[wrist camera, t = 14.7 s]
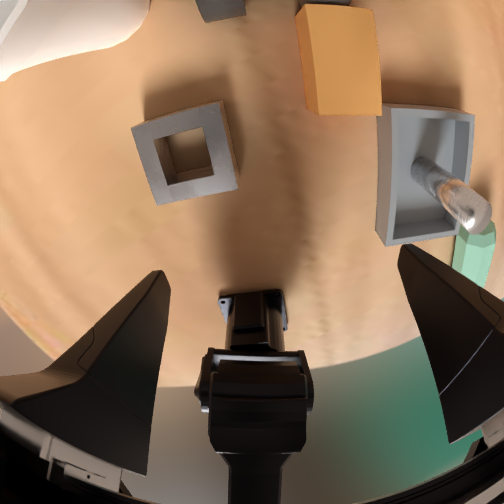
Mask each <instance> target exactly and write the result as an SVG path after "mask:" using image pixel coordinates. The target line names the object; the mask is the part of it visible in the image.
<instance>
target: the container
mask: <svg viewBox="0 0 504 504" xmlns="http://www.w3.org/2000/svg"><path fill="white" fill-rule="evenodd" d="M495 243H496V229H495V225H494V223H493V222H492V221H491V220H490V222H489V224H488V225H487V227H486V228H485V229H484V230H483V231H482V232H481V233H479V234H476V235H472V234H470V233H469V232H468V231H467V230H466V229H465V228H464V227H463V226H462V225H460V229H459V233H458V235H456V243H455V251H454V257H453V264H452V268H453V269H455V270H456V271H458V272H459V273H461V274H462V275H464V276H466V277H467V278H469V279H470V280H472V281H473V282H475V283H476V284H477V285H478V286H481V287H482V288H484V285H485V282H486V278H487V275H488V271H489V268H490V264H491V260H492V256H493V252H494V248H495Z"/></svg>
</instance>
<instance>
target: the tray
mask: <svg viewBox="0 0 504 504" xmlns="http://www.w3.org/2000/svg"><path fill="white" fill-rule="evenodd" d="M474 119H475V115H472V114H469V113H467V112H464V111H461V110H458V109H454V108H446V107H437V106H426V105H413V104H390V103H382V116H377V133H378V191H377V212H376V226H375V231H376V233H377V234H378V236H379V237H380V239H381V240H382V242H383V244H384V245H385V247H387V246H393V245H399V244H405V243H412V242H418V241H424V240H430V239H436V238H442V237H448V236H454V235H458V233H459V229H460V225H461V224H460V223H459V222H458V221H457V220H456V219H455V218H454V217H453V216H452V215H451V214H450V213H449V212H448V211H447V210H446V209H445V208H444V207H443V206H442V205H441V204H440V203H439V202H438V201H437V200H436V199H434V198H433V197H432V196H431V195H430V194H429V193H428V192H427V191H426V190H424V189H423V188H422V187H421V186H420V185H419V184H417V183H416V182H415V181H414V180H413V179H412V177H411V172H410V170H411V166H412V163H413V162H414V161H415V160H416V159H417V158H419V157H427V158H429V159H430V160H432V161H433V162H435V163H436V164H438V165H439V166H441V167H442V168H444V169H445V170H447V171H448V172H450V173H451V174H453V175H454V176H455V177H457V178H458V179H460V180H461V181H462V182H464V183H465V184H466V185H468V184H469V178H470V170H471V162H472V152H473V140H474Z"/></svg>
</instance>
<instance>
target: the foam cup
mask: <svg viewBox="0 0 504 504" xmlns="http://www.w3.org/2000/svg"><path fill="white" fill-rule="evenodd" d="M149 6H150V0H0V82H1V81H5V80H6V79H7V78H8V77H9V76H10V75H11V74H12V73H15V72H18V71H20V70H23V69H26V68H29V67H32V66H35V65H38V64H41V63H44V62H47V61H51V60H54V59H58V58H62V57H66V56H70V55H74V54H79V53H83V52H88V51H94V50H99V49H105V48H110V47H112V46H114V45H116V44H119V43H121V42H123V41H125V40H127V39H128V38H129V37H130V36H131V35H132V34H133V33H134V32H135V31H136V30H137V29H138V28H139V27H141V25H142V23H143V21H144V19H145V17H146V15H147V13H148V12H149Z"/></svg>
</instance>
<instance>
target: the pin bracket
mask: <svg viewBox="0 0 504 504" xmlns="http://www.w3.org/2000/svg"><path fill="white" fill-rule="evenodd" d="M199 127H203V131H204V135H205V139H206V143H207V147H208V151H209V155H210V159H211V163H212V166H207V167H203V168H198V169H193V170H189V171H185V172H180V173H176V171H175V168H174V165H173V162H172V158H171V155H170V152H169V148H168V145H167V141H166V138H165V136H169V135H172V134H176V133H180V132H183V131H187V130H191V129H195V128H199ZM131 131H132V134H133V137H134V140H135V143H136V147H137V150H138V153H139V156H140V159H141V162H142V165H143V168H144V171H145V174H146V177H147V179H148V182H149V185H150V188H151V191H152V194H153V196H154V199H155V202H156V204H157V205H162V204H166V203H171V202H175V201H180V200H185V199H190V198H195V197H200V196H205V195H210V194H215V193H221V192H226V191H232V190H237V189H238V186H239V178H240V176H239V171H238V167H237V162H236V158H235V153H234V149H233V144H232V140H231V135H230V130H229V126H228V121H227V117H226V112H225V108H224V103H223V100H220V101H215V102H211V103H206V104H202V105H198V106H194V107H190V108H187V109H183V110H179V111H176V112H172V113H169V114H166V115H162V116H159V117H156V118H153V119H150V120H147V121H144V122H142V123H140V124H138V125H136V126H134V127H132V128H131Z"/></svg>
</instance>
